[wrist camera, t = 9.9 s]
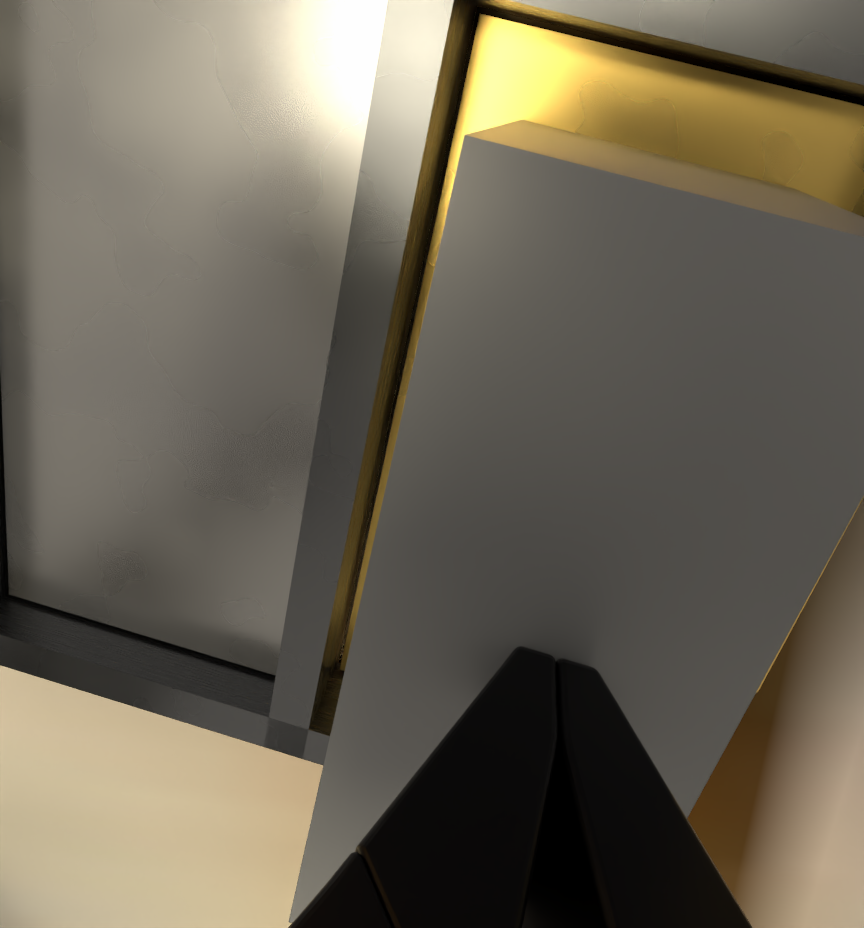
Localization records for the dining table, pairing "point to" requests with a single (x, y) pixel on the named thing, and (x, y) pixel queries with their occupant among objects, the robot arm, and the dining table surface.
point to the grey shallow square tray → (291, 294)
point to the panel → (603, 457)
